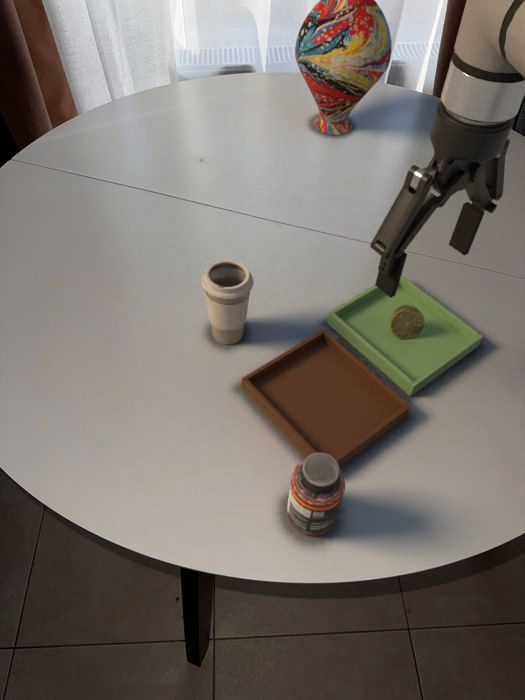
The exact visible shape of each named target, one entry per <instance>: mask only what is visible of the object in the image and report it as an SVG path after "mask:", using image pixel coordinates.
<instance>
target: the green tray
mask: <svg viewBox="0 0 525 700" xmlns="http://www.w3.org/2000/svg"><path fill="white" fill-rule="evenodd" d="M404 305H409V306H415V307H416V308H418V309H419V311H420V312H421V313H422V314H423V316H424V327H423V329H422V330H421V332H420V333H418V334H417V335H415V336H413V337H410V338H407V339H400V338H398V337H396V336H395V335H394V334H393V332H392V330H391V328H390V317H391V315H392V313H393V312H394V311H395V310H396V309H397V308H398V307H400V306H404ZM326 323H327V325H329V326H330V327H331V328H332V329H333V330H334V331H335V332H337V334H339V336H340V337H342V338H343V339H344V340H346V341H347V342H348V343H349V344H350V345H351V346H352V347H354V349H356V350H357V351H358V352H359V353H360V354H362V356H363V357H365V359H367V360H368V361H369V362H370V363H372V365H374V367H376V368H377V369H378V370H380V371H381V372H382V373H383V374H384V375H385V376H386V377H387V378H388V379H390V381H392V382H393V383H394V384H395V385H397V386H398V388H400V389H401V390H402V391H403V392H404V393H405V394H406V395H408V396H409V397H412V396H413V395H415V394H416V393H417V392H418V391H420V390H421V389H423V388H424V387H425V386H426V385H428V384H429V383H431V382H432V381H434V380H435V379H436V378H437V377H439V376H441V375H442V374H443V373H444V372H446V371H447V370H448V369H450V368H451V367H453V366H454V365H455V364H456V363H458V362H460V361H461V360H462V359H464V358H465V357H466V356H467V355H469V354H470V353H472V352H473V351H475V349H477V348H479V346H480V344H481V342H482V340H483V338H484V336H483V335H482V334H481V333H480V332H478V331H477V330H475V329H474V328H473V327H472V326H470V325H469V324H468V323H466V322H465V321H464V320H462V319H461V318H460V317H458V316H457V315H456V314H454V313H453V312H452V311H450V310H449V309H448V308H447V307H445V306H444V305H443V304H441V302H439V301H437V300H436V299H435V298H433V297H432V296H431V295H429V294H428V293H426V292H425V291H424V290H423V289H421V288H420V287H419V286H417V285H416V284H415V283H414V282H412V281H411V280H410V279H408V278H407V277H406V276H405V275H403V274H401V277H400V281H399V284H398V287H397V291H396V294H395V296H393V297H391V298H390V297H389V296H388V295H387V294H385V293H384V292H383V291H382V290H380V289H379V288H378V287H377V286H376V285H375V284H374V285H373V286H371V287H370V288H368V289H366V290H365V291H363V292H361V293H359V294H357V295H356V296H354V297H352V298H351V299H349V300H347V301H345V302H344V303H342V304H341V305H339V306H337V307H335V308H334V309H332V310H330V311H329V312H328V316H327V321H326Z"/></svg>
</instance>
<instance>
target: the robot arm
mask: <svg viewBox="0 0 525 700" xmlns="http://www.w3.org/2000/svg"><path fill="white" fill-rule="evenodd" d="M460 20H461V21H460V24H459V28H458V32H457V35H456V39H455V43H454V47H453V52H452V56H451V60H450V62H449V67H448V70H447V73H446V77H445V80H444V83H443V87H442V91H441V93H440V101H439V102H438V104H437V106H436V110H435V114H434V118H433V121H432V124H431V128H430V131H429V139H430V142H431V144H432V147H433V152H434V153H433V156H432V157H431V160H430V161H429V163H428V165H427V166H426V167H423V168H421V167H419V166H418V165H416V164H413V165H411V166H410V167H409V169H408V170H407V173H406V176H405V179H404V182H403V185H402V187H401V189H400V190H399V192H398V194H397V196H396V198H395V199H394V201H393V203H392V205H391V207H390V209H389V211H388V212H387V214H386V216H385V217H384V219H383V221H382V223H381V225H380V226H379V228H378V230H377V232H376V234H375V235H374V236H373V239H372V241H371V242H370V245H369V248H370V249H372V250H373V251H374V252H375V253H377V254H378V255H379V256H380V259H379V264H378V267H377V270H378V272H377V275H376V280H375V284H374V286H375V285H376V286H377V287H378V288H379V289H380V290H382V291H383V292H384V293H385V294H387V295H388V296H389V297H390V298H391V297H393V296H395V294H396V291H397V287H398V284H399V281H400V277H401V275H403V270H404V267H405V263H406V260H407V257H408V253H406V252H405V251H406V250H407V248H408V247H409V246H410V245H411V243H412V241H413V240H414V239H415V238H416V237H417V235H418V234H419V232H420V230H422V229H423V227H424V226H425V225H426V223H427V222H428V220H429V219H430V218H431V217H432V215H433V213H435V212H436V210H437V209H438V208H443V207H444V206H445V205H446V204H447V202H448V200H450V199H451V197H452V196H454V194H456V193H457V192H461V191H463V190H464V191H465V193H466V195H467V197H468V200H469V201H470V202H471V203H470V202H469V201H466V202H464V203H463V205H462V206H461V210H460V213H459V215H458V217H457V220H456V223H455V226H454V229H453V231H452V234H451V237H450V240H449V241H448V245H449V246H450V247H451V248H453V249H454V250H456V251H457V252H458V253H460V254H462V256H464V257H465V256H466V255H468V254H469V252H470V251H471V247H472V245H473V242H474V240H475V238H476V236H477V233H478V230H479V228H480V225H481V223H482V221H483V219H484V215H485V211H486V212H487V213H489V214H492V213H494V212H495V211H496V209H497V208H498V205H497V204H496V203H495V202H493V201H496V202H498V201H499V200H500V199H501V198H502V197H503V195H504V185H505V184H504V183H505V168H506V167H505V166H506V156H507V152H508V149H509V146H510V143H511V140H510V139H509V138H508V137H509V135H510V132H511V130H512V128H513V125H514V121H515V120H514V118H515V117H516V116H517V115H518V113H519V110H520V108H521V105H522V103H523V99H524V97H525V0H466V1H465V6H464V10H463V12H462V16H461V19H460ZM432 190H433V191H435V192H436V193H438V194H440V195H439V196H437V195H435V194H434V193H432V192H431V191H432Z"/></svg>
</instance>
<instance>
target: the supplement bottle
mask: <svg viewBox="0 0 525 700" xmlns="http://www.w3.org/2000/svg"><path fill="white" fill-rule="evenodd" d="M290 478H291V479H290V484H289V491H288V496H287V507H286V514H287V519H288V521H289V522H290V524H291V525H292V527H293V528H294V529H295V530H296V531H297V532H299V533H301V534H303V535H306V536H321V535H323V534H325V533H327V532H328V531H329V530H330V529H331V528H332V527H333V526H334V525H335V522H336V519H337V517H338V514H339V510H340V508H341V505H342V501H343V497H344V494H345V491H346V478H345V475H344V472H343V470H342V468H341V466H340V467H339V464H338V462H337V461H336V460H335V459H334V458H333V457H332V456H331V455H329V454H327V453H321V452H319V453H313V454H311V455H309V456H308V457H307V458H305V459H303V460H301V461H300V462H298V463H297V465H296V466H295V468H293V470H292V474H291V477H290Z"/></svg>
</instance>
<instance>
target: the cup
mask: <svg viewBox="0 0 525 700" xmlns="http://www.w3.org/2000/svg"><path fill="white" fill-rule="evenodd" d="M254 284H255V282H254V277H253V275H252V273H251V272H250V270H249V268H248V267H247V266H246V265H245V264H244V263H242V262H240V261H238V260H234V259H226V258H225V259H220V260H216V261H213V262H211V263H210V264H209V265H208V266H207V267H206V270H205V271H203V273H202V276H201V286H202V288H203V290H204V294H205V299H206V306H207V307H206V308H207V313H208V319H209V322H210V326H211V327H210V328H211V335H212V337H213V339H214V340H215V341H216V342H217V343H220V344H222V345H234V344H236V343H238V342H240V341H241V339H242V338H243V336H244V331H245V325H246V324H245V323H246V321H247V315H248V308H249V302H250V294H251V291H252V289H253V287H254Z"/></svg>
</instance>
